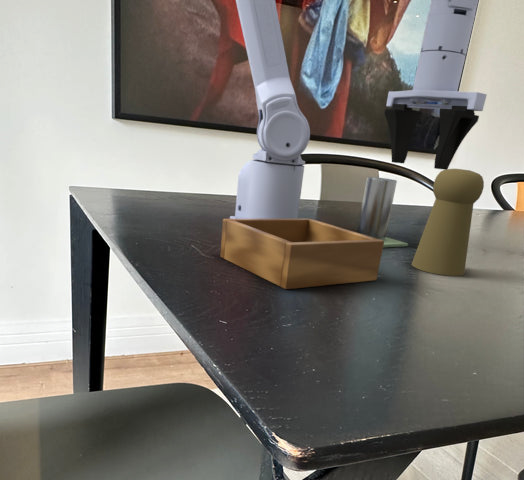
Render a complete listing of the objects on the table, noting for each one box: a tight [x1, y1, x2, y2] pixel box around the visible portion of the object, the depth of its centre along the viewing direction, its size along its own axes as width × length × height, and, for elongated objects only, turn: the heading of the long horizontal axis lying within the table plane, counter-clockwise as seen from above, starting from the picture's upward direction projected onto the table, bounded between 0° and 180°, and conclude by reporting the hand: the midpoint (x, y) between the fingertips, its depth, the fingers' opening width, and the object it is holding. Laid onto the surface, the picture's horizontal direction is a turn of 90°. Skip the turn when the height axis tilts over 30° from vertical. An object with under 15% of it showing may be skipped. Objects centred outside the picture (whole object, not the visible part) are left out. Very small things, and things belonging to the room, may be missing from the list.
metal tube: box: [356, 176, 398, 241], centre depth 68 cm, size 4×4×8 cm
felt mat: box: [383, 236, 409, 249], centre depth 70 cm, size 8×8×1 cm
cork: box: [411, 168, 485, 277], centre depth 56 cm, size 6×6×11 cm
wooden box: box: [219, 217, 384, 290], centre depth 50 cm, size 12×12×4 cm
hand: (418, 165), depth 70 cm, fingers open, 7 cm apart
